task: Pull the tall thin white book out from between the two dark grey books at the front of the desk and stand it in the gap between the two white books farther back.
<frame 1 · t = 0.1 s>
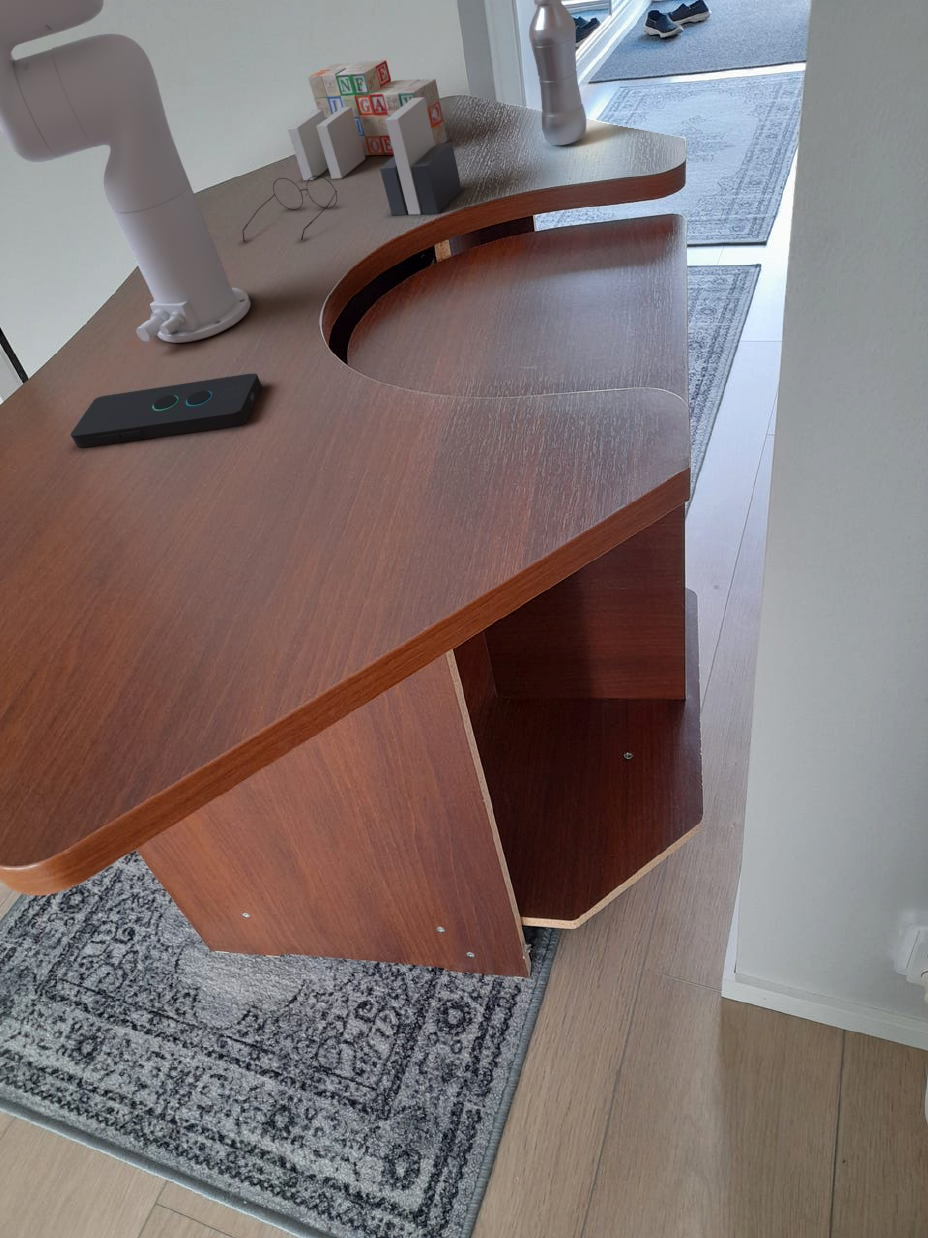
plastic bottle: (566, 143, 135), on the table
eyeglasses: (293, 225, 134), on the table
grey books: (427, 202, 129), on the table
white books: (334, 169, 149), on the table
smart home device: (171, 418, 99), on the table
white book: (427, 202, 129), on the table
stack of blocks: (388, 149, 151), on the table
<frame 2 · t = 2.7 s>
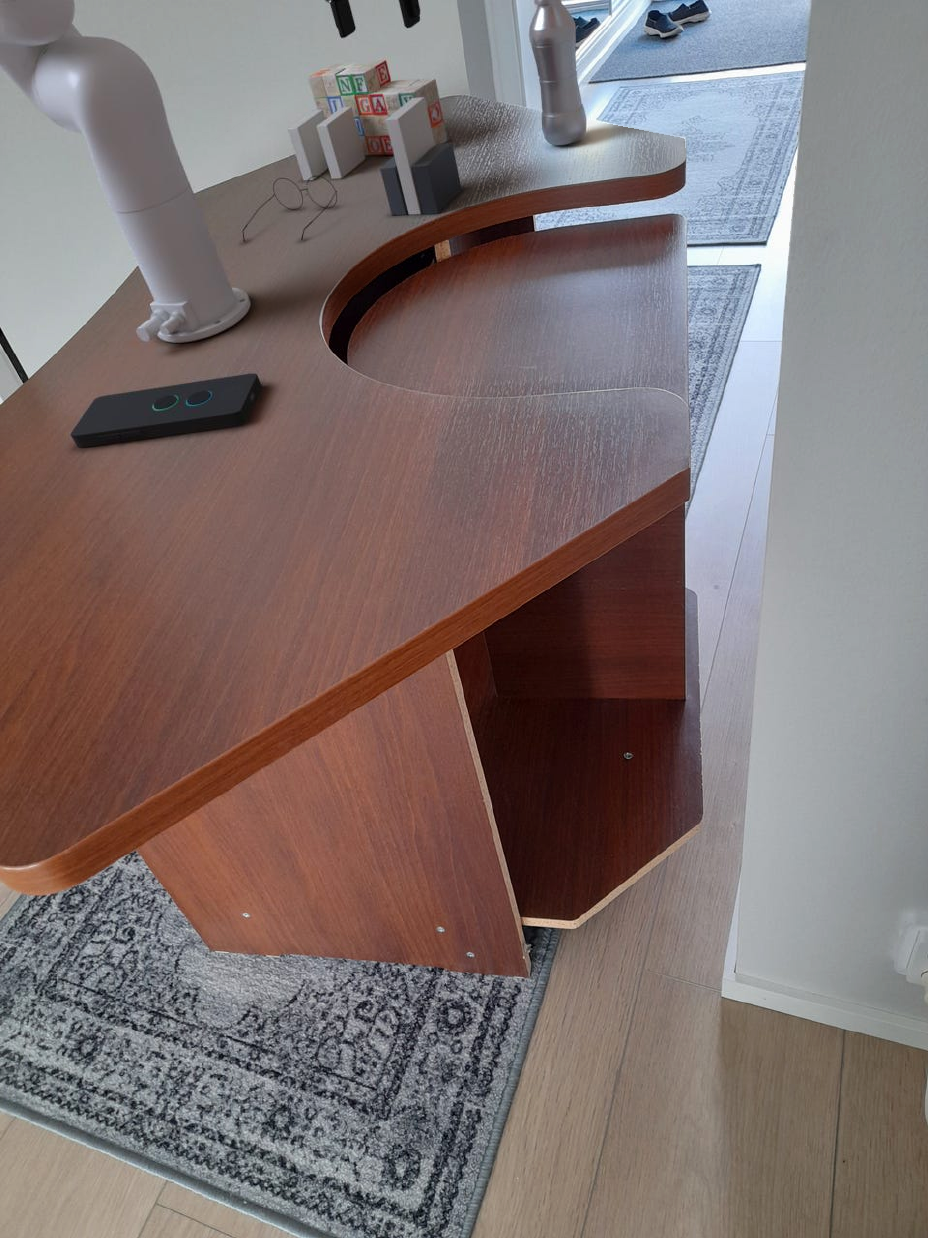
hand: (380, 29, 115), 22 cm above the table, tool pointing down, fingers open, 9 cm apart
nothing on the table moved.
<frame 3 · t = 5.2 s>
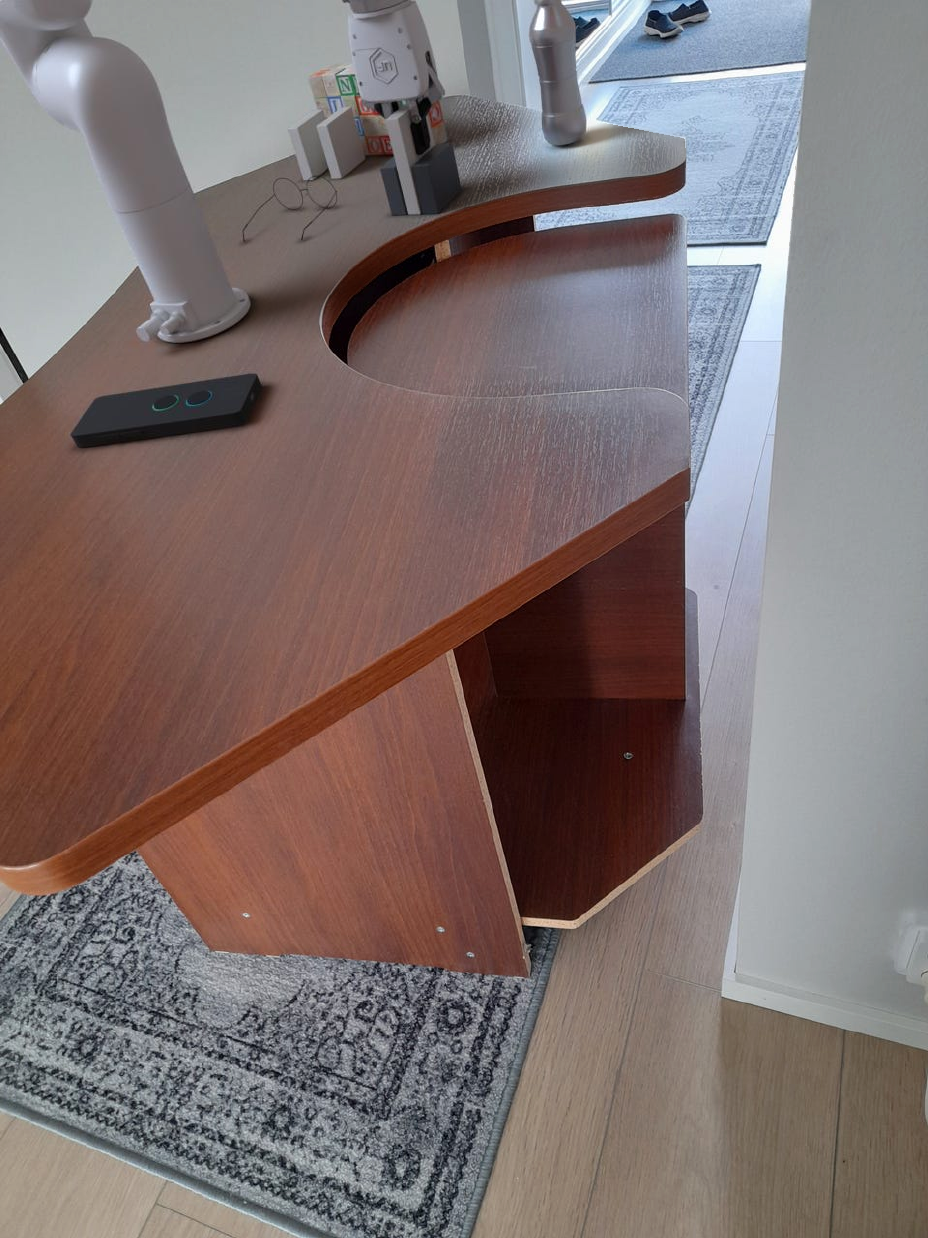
hand: (414, 150, 124), 7 cm above the table, tool pointing down, fingers closed on white book, 2 cm apart
white book: (426, 202, 129), on the table, touching gripper
everything else where it was.
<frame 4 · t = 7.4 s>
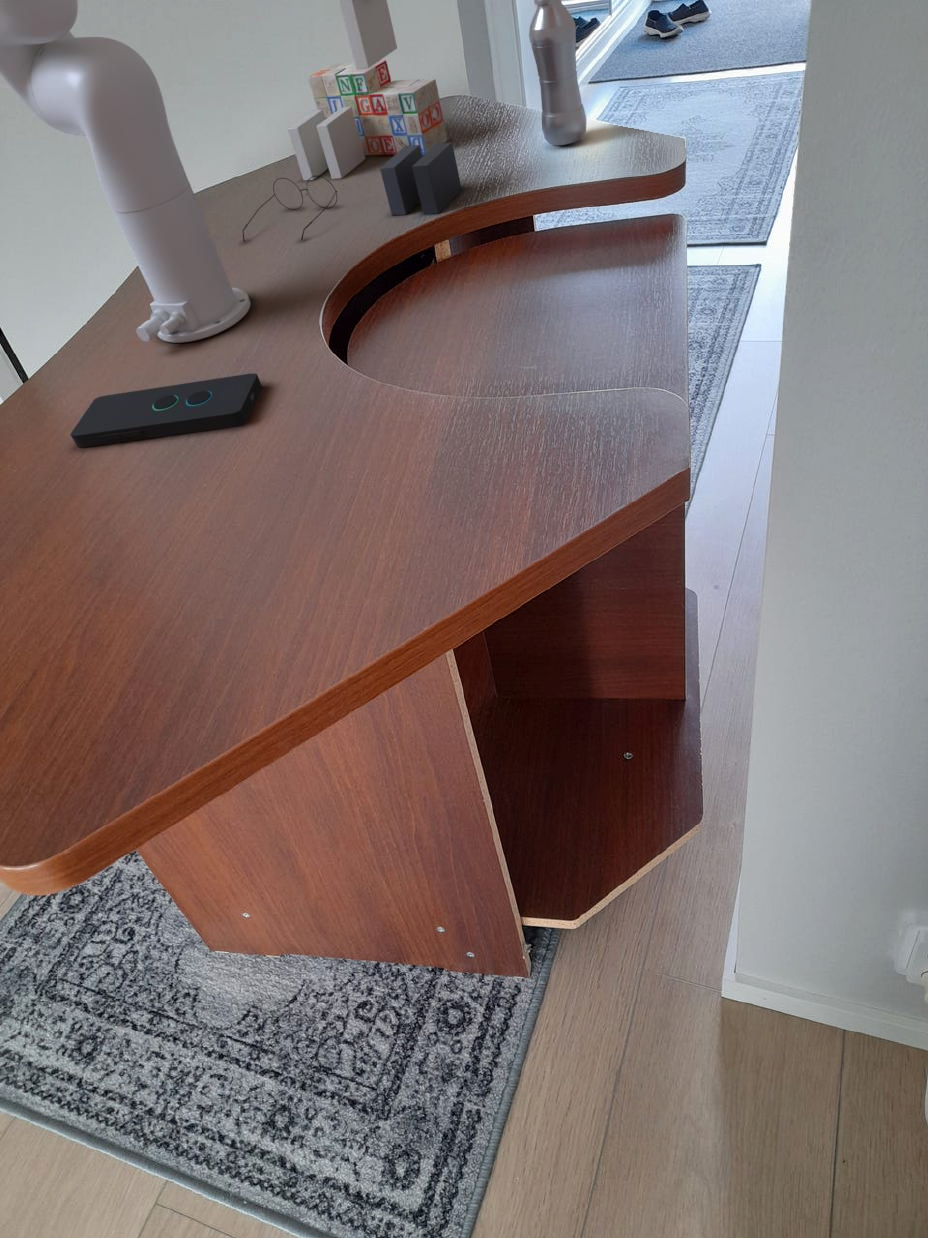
white book: (377, 58, 120), point 18 cm above the table, touching gripper
everything else where it was.
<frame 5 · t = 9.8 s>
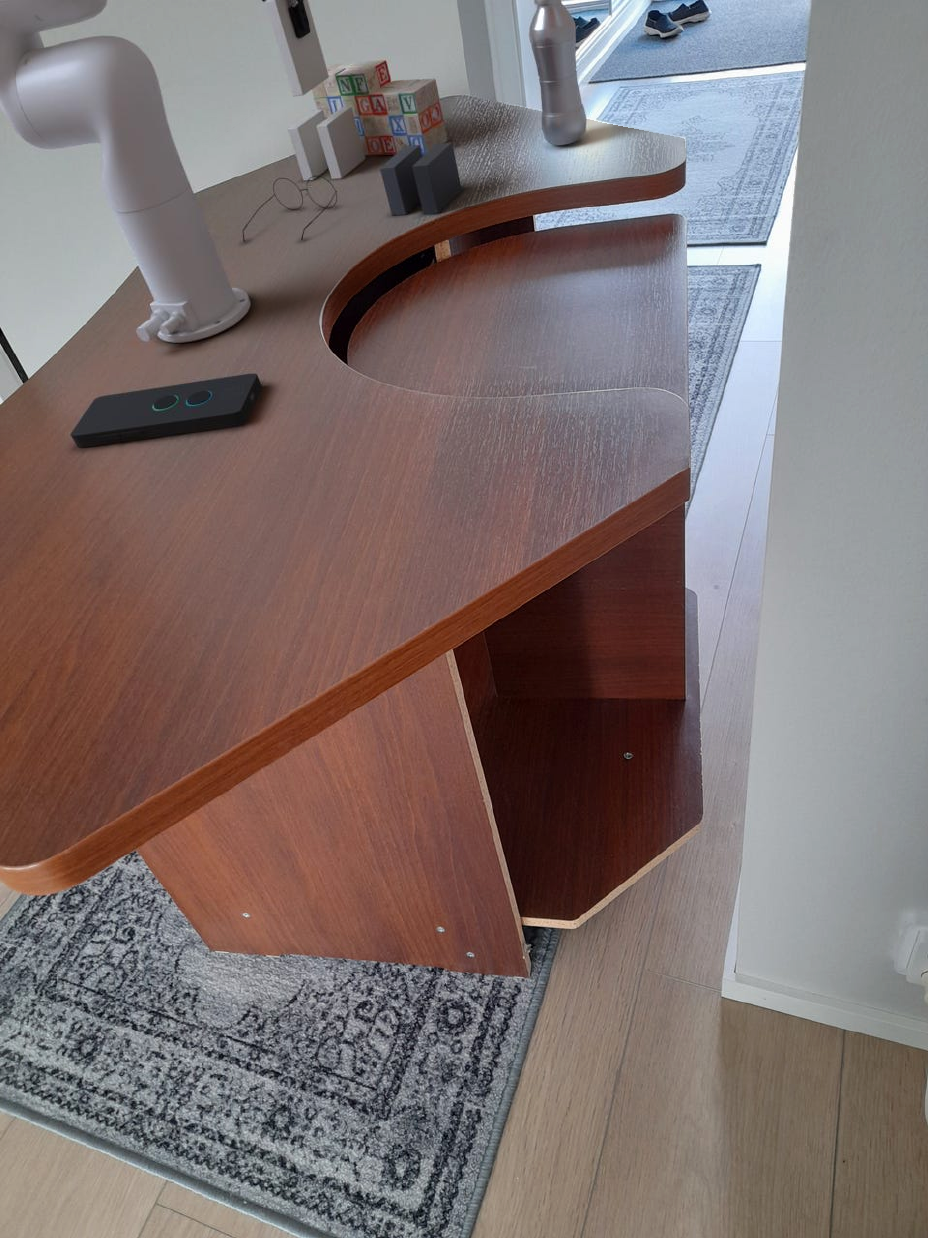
hand: (296, 35, 136), 19 cm above the table, tool pointing down, fingers closed on white book
white book: (311, 86, 140), point 12 cm above the table, touching gripper
everything else where it was.
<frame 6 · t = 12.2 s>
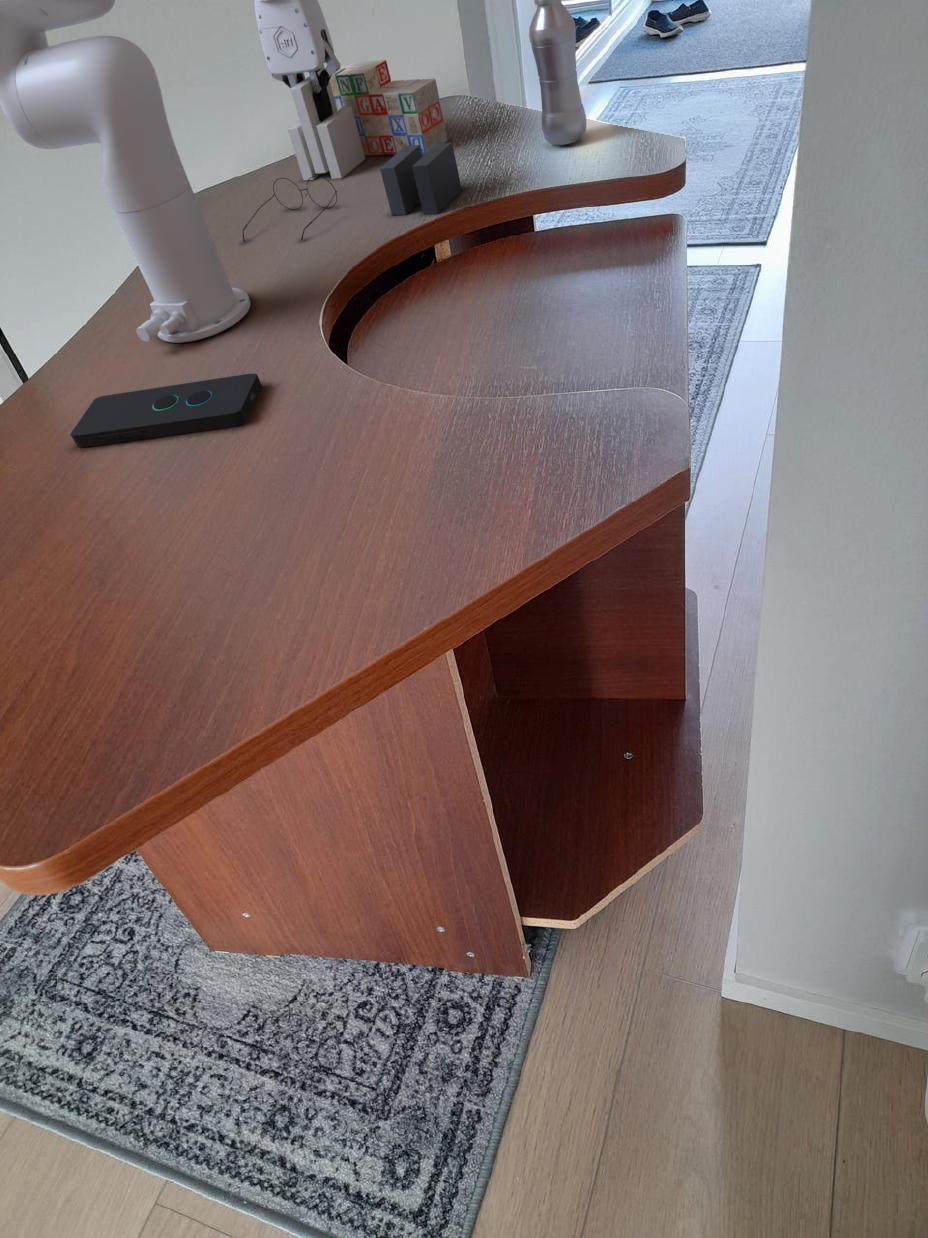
hand: (319, 117, 143), 8 cm above the table, tool pointing down, fingers closed on white book, 2 cm apart
white book: (332, 163, 148), point 1 cm above the table, touching gripper
everything else where it was.
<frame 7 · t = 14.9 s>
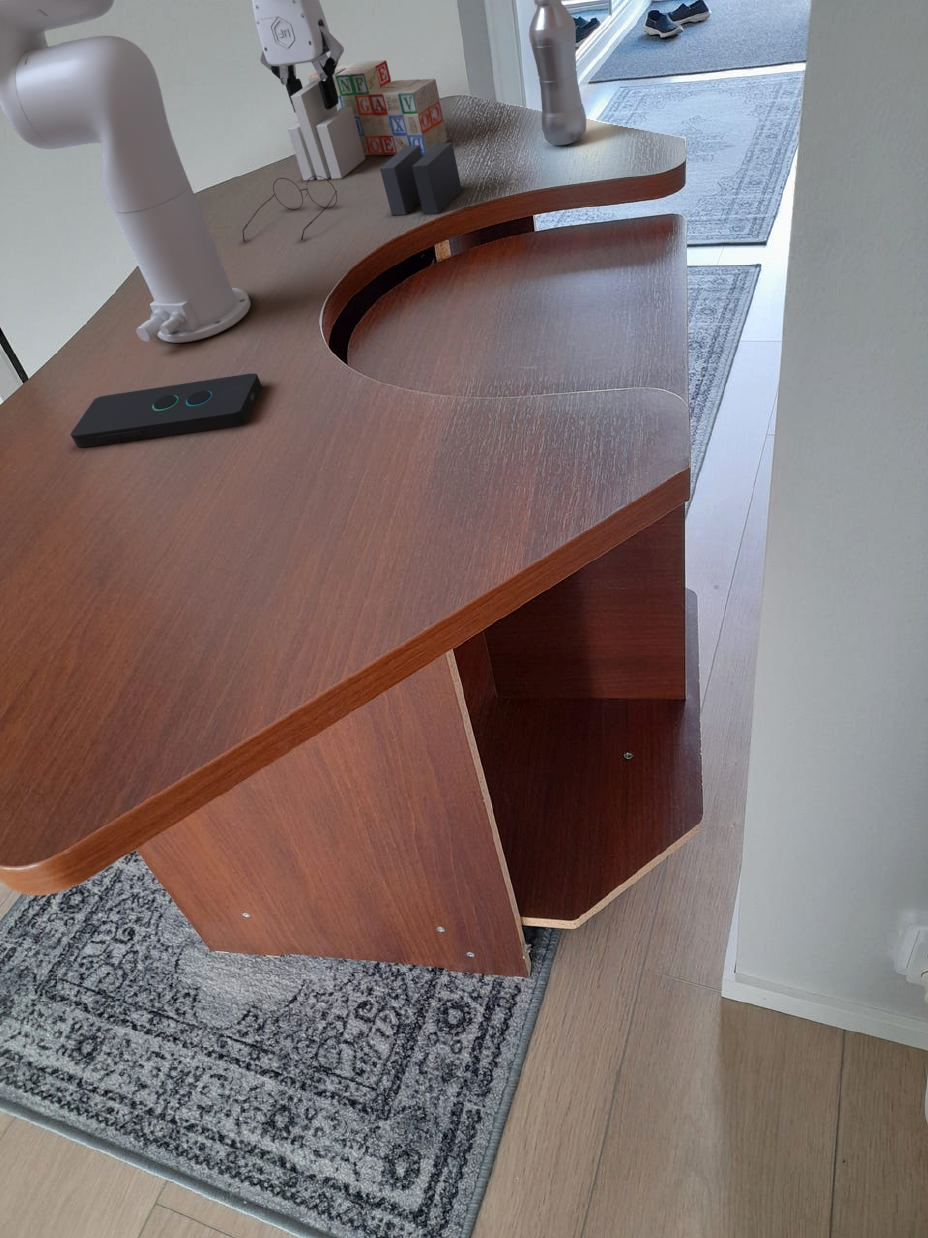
hand: (316, 106, 142), 10 cm above the table, tool pointing down, fingers open, 5 cm apart
white book: (334, 169, 149), on the table
everything else where it was.
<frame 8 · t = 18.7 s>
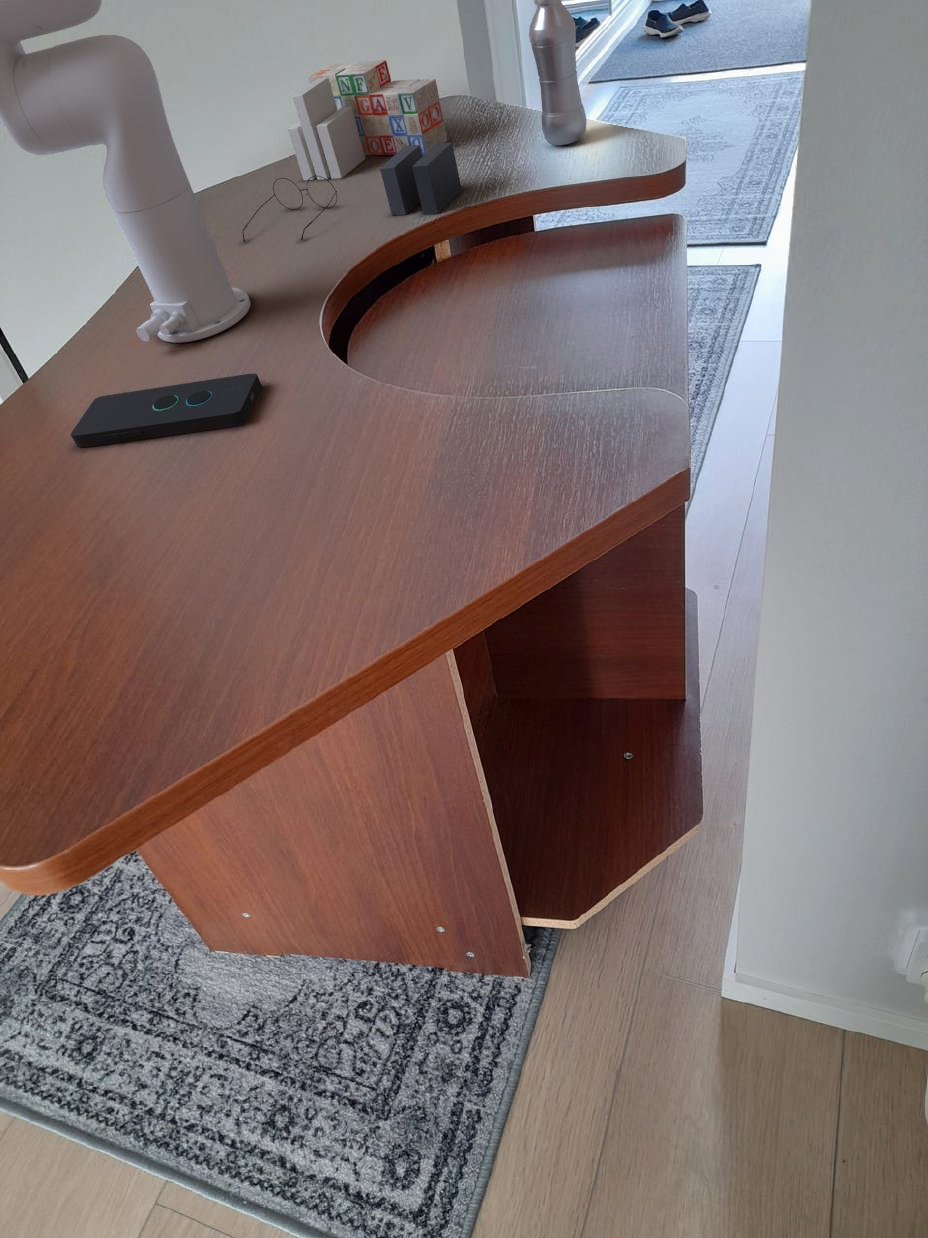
nothing on the table moved.
at the end: white book 0.1 cm off-centre on the white books, point 0.0 cm above the white books's base; white book tilted 0°; the gripper is holding nothing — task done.
